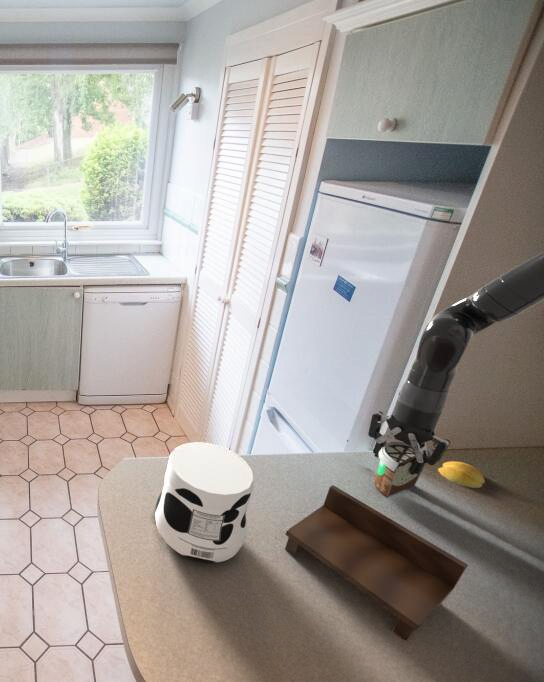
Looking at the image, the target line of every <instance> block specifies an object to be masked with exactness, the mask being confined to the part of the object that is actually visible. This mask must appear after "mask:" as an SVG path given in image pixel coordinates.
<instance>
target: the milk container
mask: <svg viewBox="0 0 544 682" xmlns="http://www.w3.org/2000/svg"><path fill="white" fill-rule="evenodd" d="M253 488H254V474H253V470H252V468H251V467H250V465H249V463H248V462H247V460H245V459H244V458H242V457H241V456H240V455H239V454H238V453H236V452H234V451H232V450H230V449H228V448H226V447H225V446H221V445H218V444H215V443H211V442H203V441H193V442H185V443H183V444H181V445H179V446H176V448H174V449H173V451H171V452H170V454H169V458H168V461H167V467H166V471H165V475H164V483H163V488H162V490H161V492H160V494H159V496H158V497H157V500H156V502H155V509H154V510H155V512H154V513H155V514H154V516H155V525H156V528H157V531H158V533H159V535H160V536H161V538H162V540H163V541H164V542H165V544H166V545H167V546H168V547H169V548H171V549H172V550H173V551H174V552H176V553H177V554H179V555H180V556H183V557H184V558H186V559H188V560H191V561H194V562H198V563H205V564H217V563H223V562H226V561H227V560H229V559H231V558H233V557H234V556H235V555H237V553H238V552H239V551H240V549H241V547H242V546H243V545H244V541H245V539H246V535H247V530H248V529H247V525H248V524H247V511H248V507H249V505H250V500H251V496H252V493H253V490H254V489H253Z"/></svg>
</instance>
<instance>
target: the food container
mask: <svg viewBox="0 0 544 682" xmlns="http://www.w3.org/2000/svg"><path fill="white" fill-rule="evenodd" d="M432 453H433V451H432V450H431V449H428V448H427V454H428V456H431V455H432ZM379 460H380V461H379V464H378V468H377V471H376V476H375V479H374V487H375V489H376V490H377V492H379V494H381V495H382V496H383V497H385V498H386V499H388V498H390V497H393V496H396V495H398V494H401V493H403V492H406V491H408V490H409V488H411V487H416V484H417V483H418V480H419V478H420V477H421V474H422V472H423V471H424V470H425V469H424V468H425V466H426V465H427V463H425V465H424V467H423V470H422V471H421V472H420V473H419V474H415V475H412V474H410V471H411V469H412V466H413V464H414V462H415V460H417V459H416V456H415V453H414V452H413V449H412V445H411V446H410V445H408V444H406V443H404V442H403V441H390V442H388V443H386V445H384V446H383V447H382V449H381V450H380V451H379Z"/></svg>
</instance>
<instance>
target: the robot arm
mask: <svg viewBox="0 0 544 682" xmlns="http://www.w3.org/2000/svg"><path fill="white" fill-rule="evenodd" d="M543 301H544V250H543V251H542V252H540V253H538V254H536V255H534V256H532V257H530V258H528V259H527V260H524V261H523V262H521V263H519V264H517V265H516V266H514V267H512V268H511V269H509V270H507V271H505V272H504V273H502V274H501V275H499V276H498V277H495V278H494V279H493V280H491V281H490V282H488V283H486V284H485V285H483V286H482V287H480V288H479V289H478V290H476V291H475V292H473V293H472V294H471V295H469V296H467V297H465V298H463V299H461V300H459V301H457V302H456V303H454V304H452V305H450V306H448V307H447V308H445V309H443V310H441V311H440V312H439V313H437V314H435V315H434V316H433V317H432V318H430V320H429V322H428V323H427V324H426V325H425V327H424V329H423V331H422V334H421V336H420V340H419V343H418V347H417V351H416V356H415V358H414V360H413V363H412V365H411V367H410V368H409V371H408V374H407V377H406V379H405V380H404V383H403V384H402V386H401V389H400V390H399V392H398V395H397V399H396V402H395V404H394V406H393V409H392V412H391V414H390V415H386V414H384V412H383V411H380V410H378V411H377V412H375V413H373V414H372V415H371V420H370V423H369V429H368V434H367V435H368V437H369V438H373V439H374V440H375V444H374V447H373V449H372V453H373V454H374V457H375V458H377V459H378V458H379V451H380V450H381V449H382V447H383V446H384V445H386V444H387V441H388V440H389V439H391V438H394V439H395V440H397V441H398V442H404V443H406V444H408V445H410V446H411V445H412V449H413V452H414V453H415V456H416V459H417V460H415V462H414V464H413V466H412V469H411V471H410V474H412V475H415V474H419V473H420V472H421V471H422V470H423V471H424V469H423V467H424V465H425V463H426V464H428V465H430V466H435V465H436V464H437V463H439V462H440V461H441V459H442V458H443V456H444V455H445V453H446V451H447V449H448V448H449V446H450V445H451V440H450V439H448V438H443V439H442V438H440V437H439V436H437V435H436V434H435V429H436V426H437V425H438V422H439V419H440V418H441V415H442V412H443V410H444V408H445V406H446V404H447V401H448V397H449V393H450V391H451V387H452V385H453V383H454V380H455V378H456V376H457V373H458V367H459V366H458V365H459V364H460V362H461V360H462V358H463V356H464V355H465V352H466V351H467V348H468V346H469V344H470V342H471V341H472V338H473V337H475V336H476V335H478V334H479V333H481V332H482V331H484V330H486V329H488V328H489V327H491V326H493V325H495V324H496V323H501V322H505V321H508V320H510V319H513V318H514V317H517V316H518V315H520V314H522V313H523V312H525V311H527V310H528V309H530V308H532V307H534V306H537V305H538V304H540V303H541V302H543ZM385 422H386V424H387V427H388V429H389V431H387V432H385V433H383V434H382V433H381V432H380V431H381V427H382V424H383V423H385ZM430 441H432V443H433V444H432V446H433V448H434V450H433V451H432V454H431V456H428V454H427V449H428V446H427V443H428V442H430ZM379 459H380V458H379ZM425 466H426V465H425ZM424 468H425V467H424ZM423 471H422V472H423Z"/></svg>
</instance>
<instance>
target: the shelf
mask: <svg viewBox="0 0 544 682" xmlns="http://www.w3.org/2000/svg"><path fill="white" fill-rule="evenodd" d="M325 496H326V497H325V499H324V502H323V504H322V505H321V506H320V507H319V508H317V509H316V510H315V511H313V512H311V513H310V514H308V515H307V516H306V517H304V518H303V519H301V520H299V521H298V522H297V523H295V524H294V525H292V526H291V527H290V528H288V529H287V530H286V531H285V536H287V541H286V543H285V547H284V550H285V551H286V552H288V553H289V554H290V555H292V556H293V557H295V556H296V555H298V554H300V553H301V552H302V551H303V550H306V551H307V552H308V553H309V554H311V555H313V556H314V557H315V558H316V559H318V560H319V561H320V562H322V563H323V564H325V566H327V567H328V568H330V569H332V570H333V571H334V572H335V573H337V574H338V575H340V577H342V578H344V579H345V580H347V581H348V582H349V583H350V584H352V585H353V586H354V587H356V588H357V589H358V590H360V591H361V592H363V593H364V594H366V596H368V597H369V598H370V599H373V600H374V601H375V602H376V603H377V604H379V605H381V606H382V607H383V608H384V609H386V610H388V612H390V613H391V614H393V615H394V616H396V617H397V618H398V619H397V621H396V623H395V624H394V626H393V628H392V632H393V633H394V634H396V635H397V636H398V637H399V638H401V639H402V640H403V641H405V642H407V641H408V640H409V639H410V638H411V637H412V635H414V633H416V631H418V630H420V628H421V627H422V625H423V624H424V623H425V622H426V621H427V620H428V619H429V618H430V617H431V615H433V614H434V612H435V611H436V610H437V609H438V608H439V607H440V605H441V604H442V603H443V602H444V601H445V600H446V599H447V598H448V596H449V595H450V594H452V592H453V591H454V590H455V588H456V587H457V585H458V584H459V581H460V580H461V578H462V576H463V575H464V573H465V571H466V569H467V568H468V566H469V564H468V563H466V562H465V561H463V560H461V559H459V558H458V557H456V556H454V555H452V554H450V552H447V551H446V550H444V549H442V548H441V547H439V546H437V545H435V544H433V543H432V542H431V541H429V540H427V539H425V538H424V537H423V536H420V535H419V534H417V533H415V532H414V531H412V530H410V529H408V528H407V527H405V526H404V525H402V524H400V523H398V522H396V521H395V520H393V519H392V518H390V517H388V516H386V515H385V514H383V513H382V512H380V511H378V510H376V509H375V508H373V507H371V506H370V505H368V504H366V503H364V502H363V501H362V500H359V499H357V498H356V497H354V496H353V495H351V494H349V493H347V492H346V491H344V490H342V489H340V488H339V487H337V486H336V485H334V484H332V485H330V486H329V488H328V491H327V494H326V495H325Z"/></svg>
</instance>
